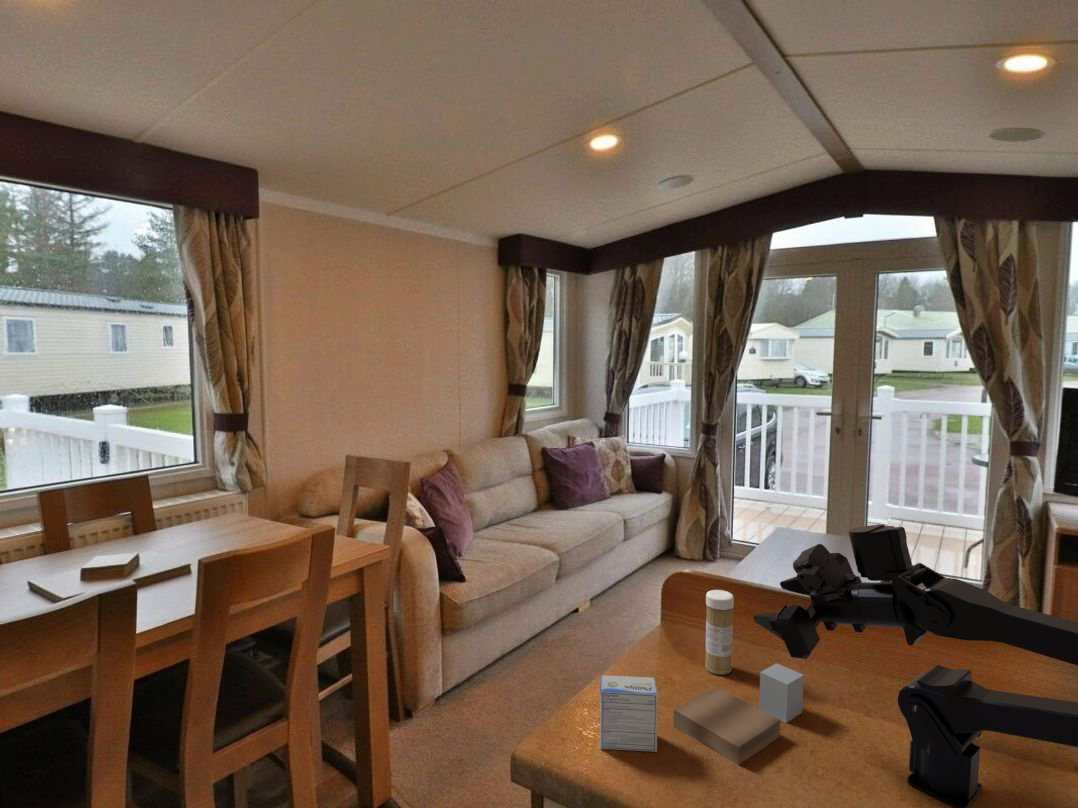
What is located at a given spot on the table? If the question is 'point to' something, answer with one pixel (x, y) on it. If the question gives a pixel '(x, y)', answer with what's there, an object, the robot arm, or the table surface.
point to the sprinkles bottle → (719, 631)
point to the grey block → (781, 692)
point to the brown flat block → (727, 725)
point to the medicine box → (628, 713)
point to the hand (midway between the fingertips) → (768, 601)
